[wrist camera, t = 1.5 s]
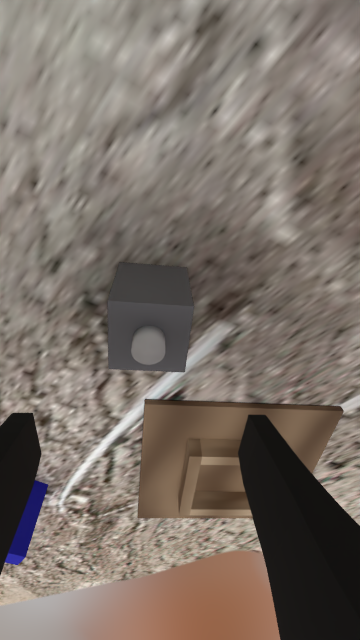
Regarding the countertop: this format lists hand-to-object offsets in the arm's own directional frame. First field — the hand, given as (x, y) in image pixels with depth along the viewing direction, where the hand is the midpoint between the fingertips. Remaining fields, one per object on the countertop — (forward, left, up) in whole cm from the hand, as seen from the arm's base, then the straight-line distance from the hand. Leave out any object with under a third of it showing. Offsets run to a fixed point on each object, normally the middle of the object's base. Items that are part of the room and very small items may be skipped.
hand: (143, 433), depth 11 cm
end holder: (-8, +17, -11) cm, 22 cm away
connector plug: (0, 0, -11) cm, 11 cm away
